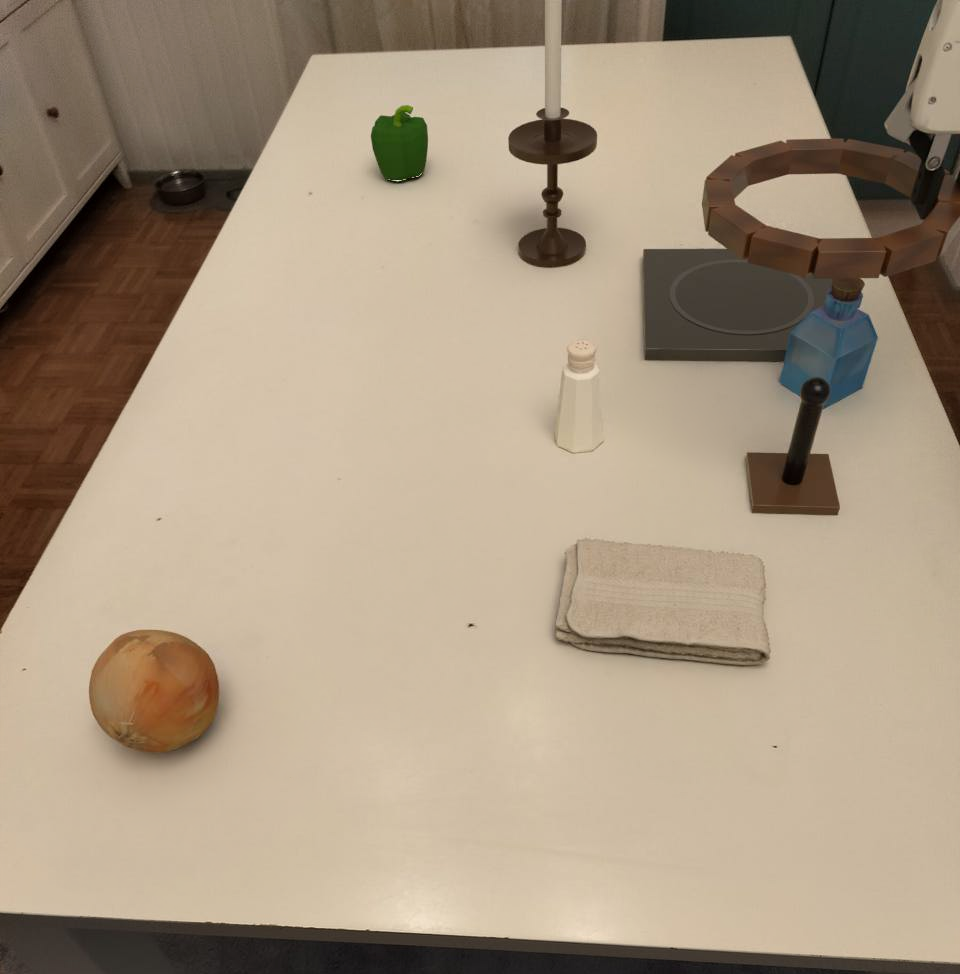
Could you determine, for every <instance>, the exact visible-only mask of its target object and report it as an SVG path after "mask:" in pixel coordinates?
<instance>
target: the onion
mask: <svg viewBox="0 0 960 974" xmlns="http://www.w3.org/2000/svg"><path fill="white" fill-rule="evenodd" d="M88 684H89V685H88V698H89V705H90V709H91V713H92V715H93V717H94V719H95V721H96V723H97V725H99V726H98V727H100V729H101V730H102V731H103V732H104V733H105V734H106V735H107V736H109V737H110V738H111V739H112V740H114V741H116V742H117V743H119V744H121V745H123V746H125V747H126V748H129V749H133V750H136V751H139V752H142V753H149V754H159V753H160V754H161V753H165V752H170V751H175V750H177V749H180V748H182V747H184V746H187V745H188V744H190V743H191V742H193V741H195V740H197V739H199V737H200V736H201V735H203V734H204V733H205V732H206V730H207V729H208V728H209V727H210V726H211V724H212V722H213V720H214V719H215V716H216V714H217V711H218V706H219V698H220V683H219V677H218V673H217V668H216V666H215V663H214V661H213V659H212V658H211V656H210V655H209V653H208V652H207V651H205V649H204V648H202V647H201V645H199V644H198V643H196V642H195V641H193V640H192V639H190V638H189V637H187V636H185V635H182V634H180V633H177V632H173V631H167V630H162V629H137V630H132V631H128V632H124V633H122V634H120V635H119V636H118V637H116V638H115V639H113V641H112V642H111V643H110V644H109V645H108V646H107V647H106V648H105V649H104V651H102V653H101V654H100V655H99V656H98V658H97V659H96V661H95V662H94V665H93V667H92V670H91V674H90V678H89V683H88Z"/></svg>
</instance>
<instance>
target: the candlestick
mask: <svg viewBox="0 0 960 974" xmlns="http://www.w3.org/2000/svg"><path fill="white" fill-rule="evenodd" d="M562 9H563V0H544V108H543V107H542V108H541V109H538V111H536V113H535V116H536V117H537V118H539V119H537V120H532V121H529V122H525V123H522V124H521V125H519V126H517V127H515V128H514V129H512V131H510V133H509V135H508V137H507V138H508V139H507V141H508V142H507V143H508V152H509V153H510V154H511V155H512V156H513V157H514V158H516V159H518V160H520V161H521V162H522V161H523V162H525V163H530V164H534V165H546V187H545V188H544V189H542V191H541V198H542V200H543V202H544V203H545V204H546V206H545V207H546V208H544V209H543V210H542V216H543V217H544V218H546V227H544V228H538V229H535V230H532V231H530V232H527V233H526V234H524V235H523V236H522V237H520V239H519V241H518V244H517V249H518V250H517V251H518V256H519V257H520V259H521V260H522V261H524V262H525V263H526V264H529V265H531V266H534V267H540V268H561V267H567V266H569V265H572V264H574V263H577V262H578V261H580V260H582V258H583V257H584V256H585V255H586V251H587V241H586V239H585V237H584V235H582V234H581V233H579V232H577V231H575V230H573V229H570V228H565V227H558V219H559V218H560V217H561V216H562V214H563V213H562V212H563V211H562V209H561V208H559V203H560V202H561V201H562V199H563V196H564V190H563V189H562V188H561V187H559V185H558V183H559V181H558V180H559V165H562V164H569V163H573V162H578V161H580V160H582V159H584V158H587V157H588V156H590V155H591V154H592V153H594V152H595V150H596V149H597V145H598V132H597V131H596V129H595V128H594V127H593V126H591V125H590V124H588V123H587V122H584V121H580V120H577V119H570V118H567V117H568V116H569V115H570V111H569V110H568V109H567V108H564V107H562V106H561V105H562V104H561V102H562V99H561V98H562V91H561V90H562V25H563V24H562V16H563V15H562V14H563V12H562V11H563V10H562Z"/></svg>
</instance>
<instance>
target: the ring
mask: <svg viewBox="0 0 960 974" xmlns="http://www.w3.org/2000/svg"><path fill="white" fill-rule="evenodd" d="M920 164H921V159H920V158H919V156H918V155H917V153H914V152H912V151H911V150H910V151H905V150H904V149H902V148H899V147H893V146H888V145H882V144H878V143H872V142H868V141H861V140H857V139H851V138H848V139H847V140H846V141H845V140H844V138H841V137H840V138H837V137H836V138H796V139H794V138H793V139H786V140H785V142H784V141H783V140H778V141H774V142H770V143H767V144H763V145H759V146H756V147H752V148H749V149H745V150H741V151H737V152H735V153H734V155H733V154H730V156H728V158H726V159H725V160H724V161H723V162H722V163H720V165H718V166H717V167H716V168H715V169H714V170H712V171H711V172H710V173H709V174H708V175H707V176H706V177H705V180H704V184H703V191H702V199H701V200H702V201H701V209H702V217H703V225H704V231H705V232H706V233H707V235H708V236H709V237H710V238H711V239H713V240H714V241H715V242H717V243H718V244H719V245H720V246H723V247H724V249H728V250H729V251H731V252H732V253H734V254H735V255H736V256H738V257H739V258H740V259H742V260H744V259H747V258H748V261H747V262H748V263H751V264H755V265H759V266H763V267H767V268H770V269H774V270H778V271H782V272H786V273H789V274H793V275H797V276H801V277H805V278H806V277H807V276H808V275H809V274H810V273H812V276H813V279H835V278H860V279H879V278H880V275H881V276H882V277H884V278H887V277H890V276H893V275H896V274H898V273H902V272H906V271H908V270H911V269H914V268H918V267H920V266H924V265H926V264H929V263H933V262H935V261H936V259H940V258H941V257H942V256H943V254H944V253H945V251H947V248H948V247H949V246H950V245H951V243H952V241H954V239H955V237H956V236H957V235H958V234H959V232H960V187H959V185H958V183H957V181H956V179H957V178H956V177H955V175H954V174H951V172H950V171H948V170H947V169H945V168H943V169H944V171H945V176H944V180H943V183H942V186H941V189H940V192H939V195H938V197H937V199H936V202H935V205H934V208H933V210H932V211H931V212H930V213H929V215H928V216H927V217H926V218H925V220H922V222H921V223H920V224H917V225H916V224H915V225H914V226H911V227H907V228H904V229H901V230H898V231H895V232H891V233H888V234H884V235H882V236H881V235H880V236H877V237H833V238H832V237H827V238H826V237H823V238H819V237H816V236H812V235H807V234H803V233H798V232H796V231H795V232H794V231H790V230H787V229H783V228H778V227H775V226H770V225H767V224H765V223H764V222H762V221H760V220H759V219H757V218H756V217H755V216H753V215H751V214H750V213H749V212H747V211H746V210H744V209H743V208H741V207H740V206H738V205H737V204H736V201H735V199H737V197H738V196H739V195H740V194H741V193H743V192H744V191H745V190H746V189H747V188H748V187H749V186H753V185H756V184H757V185H758V184H760V183H764V182H767V181H770V180H774V179H777V178H780V177H781V178H782V177H784V176H788V175H836V174H838V175H842V176H846V177H847V176H848V177H851V178H857V179H861V180H866V181H871V182H876V183H880V184H884V185H887V186H888V187H890V188H892V189H894V190H895V191H897V192H899V193H900V194H903V195H904V196H906V197H907V198H910V199H911V194H912V190H913V187H914V184H915V180H916V177H917V174H918V170H919V167H920Z"/></svg>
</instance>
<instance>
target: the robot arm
mask: <svg viewBox="0 0 960 974" xmlns="http://www.w3.org/2000/svg"><path fill="white" fill-rule="evenodd" d="M884 128H885V131H886V132H887V135H889V136H890V137H892V138H894V139H895V140H898V141H900V142H902V143H904V144H908V145H909V146H910V147H911V149H913V151H914V152H915V154H916V155H917V156H919V158H920V159H921V164H920V167H919V170H918V174H917V177H916V180H915V184H914V187H913V190H912V194H911V198H910V202H911V205H912V206H914V208H915V210H916V212H917V214H918V217H919V219H920V220H921V221H924V220H925V218H926V217H927V216H928V215H929V213H930V212H931V211H932V210H933V208H934V205H935V202H936V199H937V197H938V195H939V192H940V189H941V186H942V183H943V180H944V176H945V171H944V169H945V168H944V167H943V164H944V162H945V160H944V158H945V156H946V152H947V149H948V146H949V143H950V141H951V138H952V135H960V0H937V1H936V2H935V5H934V6H933V9H932V12H931V15H930V17H929V19H928V22H927V24H926V27H925V29H924V33H923V34H922V38H921V41H920V43H919V47H918V50H917V52H916V55H915V58H914V61H913V64H912V67H911V70H910V74H909V77H908V80H907V84H906V88H905V91H904V94H903V95H902V97H901V98H900V99H899V101H898V102H897V104H895V107H894V108H893V110H892V111H891V112H890V114H889V116H888V117H887V118H886V120H885V122H884ZM955 179H956V181H957V183H958V185H959V187H960V169H959V170H958V173H957V176H956V178H955Z"/></svg>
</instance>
